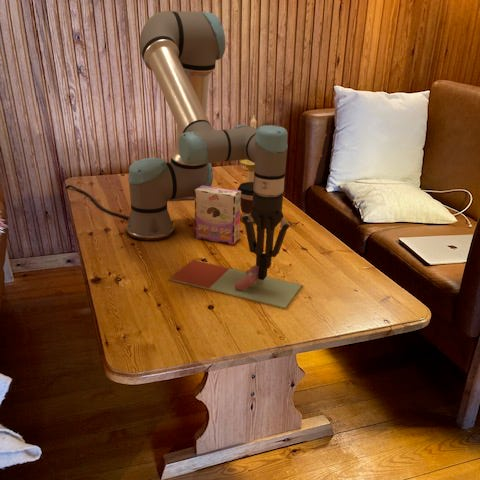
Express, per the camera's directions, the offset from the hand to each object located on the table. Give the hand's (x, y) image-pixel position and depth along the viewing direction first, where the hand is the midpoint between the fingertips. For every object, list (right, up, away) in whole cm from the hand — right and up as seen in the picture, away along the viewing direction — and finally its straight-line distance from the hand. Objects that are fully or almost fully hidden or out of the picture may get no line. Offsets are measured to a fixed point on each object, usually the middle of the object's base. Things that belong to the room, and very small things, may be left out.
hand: (262, 277), depth 144 cm
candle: (-2, +35, +63) cm, 72 cm away
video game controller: (-3, -2, +3) cm, 5 cm away
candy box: (-14, +15, +30) cm, 37 cm away
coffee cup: (-2, +25, +47) cm, 53 cm away
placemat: (-7, -1, +4) cm, 9 cm away
